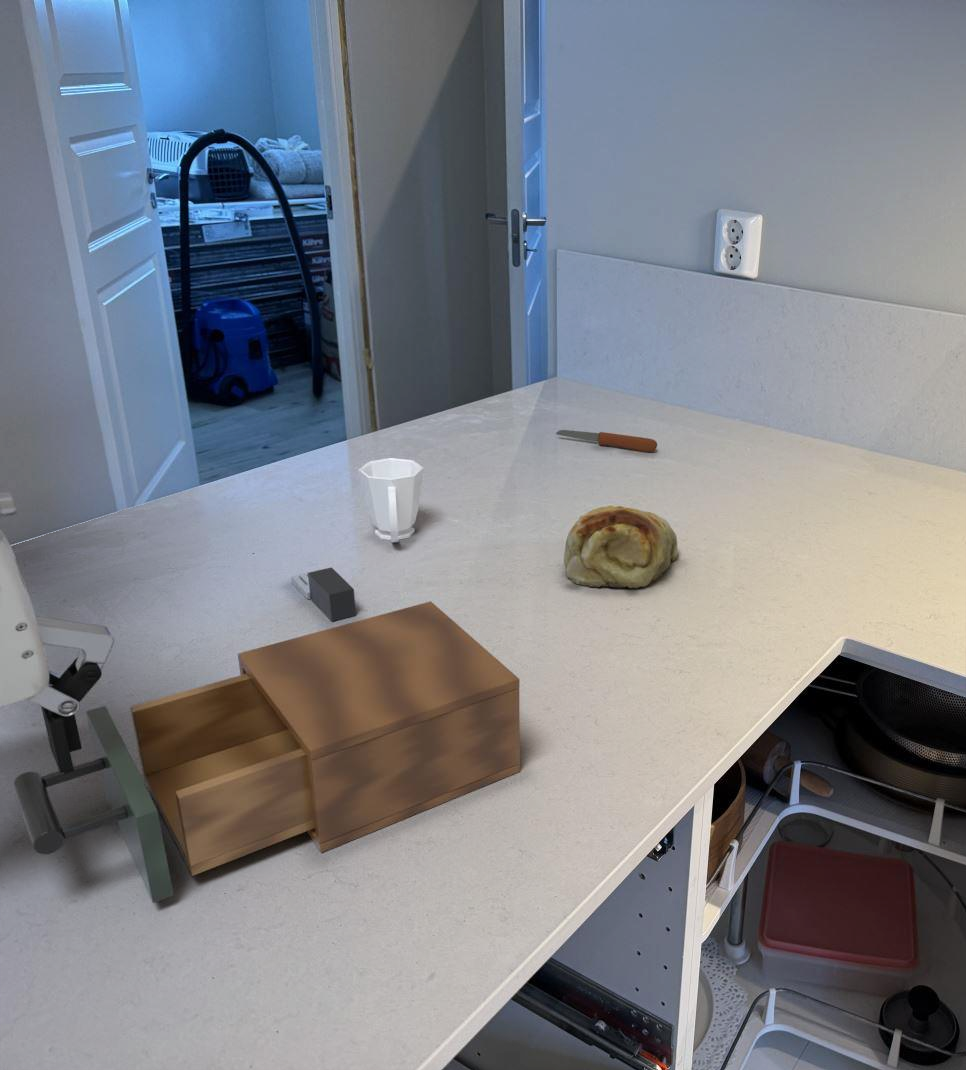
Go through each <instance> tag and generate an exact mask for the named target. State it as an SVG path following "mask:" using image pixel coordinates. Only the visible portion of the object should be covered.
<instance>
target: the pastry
mask: <svg viewBox="0 0 966 1070" xmlns="http://www.w3.org/2000/svg"><path fill="white" fill-rule="evenodd" d="M678 555H679V552H678V537H677V535H676V532H675V531H674V529H673V528H672V527H671V525H670V523H669V522H668V521H667V520H666V519H665V518H664V517H662V516H660V515H658V514H657V513H654V512H652V511H651V512H650V511H646V510H640V509H638V508H632V507H626V506H622V505H620V506H615V505H608V506H601V507H597V508H594V509H592V510H590V511H588V512H586V513H585V514H583V515H580V516H579V518H578V520H576V521H575V522H574V524H573V526H572V527H571V529H570V531H569V532H568V534H567V538H566V541H565V546H564V554H563V565H564V567H565V574H566V578H569V579H570V580H571V583H574V584H576V585H580V586H587V587H590V588H601V587H607V588H609V587H611V588H616V589H617V588H618V589H621V588H625V587H627V588H629V589H638V588H641V587H643V588H645V587H646V586H649V584H651V583H654V582H655V581H656V580H659V578H660V577H661V576H663V574H664V572H665V571H667V570H668V568H669V567H670V564H671V562H675V561H676V559H677V558H678Z"/></svg>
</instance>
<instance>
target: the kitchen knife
mask: <svg viewBox="0 0 966 1070" xmlns="http://www.w3.org/2000/svg"><path fill="white" fill-rule="evenodd" d="M555 435H557V436H563V437H567V438H572V439H577V440H578V439H579V440H584V441H590V442H597V443H598V446H611V447H618V448H622V449H628V450H632V451H633V450H634V451H638V452H643V453H651V452H654V451H656V449H658V442H657V441H656V440H655V439H653V438H649V437H641V436H634V435H627V434H618V433H611V432H604V431H600V432H592V431H591V432H589V431H580V430H571V429H560V430H558V431H557V432H555Z"/></svg>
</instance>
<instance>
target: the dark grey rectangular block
mask: <svg viewBox="0 0 966 1070" xmlns="http://www.w3.org/2000/svg"><path fill="white" fill-rule="evenodd" d="M290 578H291V580H290V581H291V584H292V585H293V586H294V587H295V588H296V589H297V590H298V591H299V592H300V593H301V594H302V595H303V596H304V598H305V599H306V600H311V602H312V603H314V604H315V605H316V607H317V608H318V609H319V610H320V611H321V612H322V613H323V614H324V616H326V617H327V618H328V619H329V620H330V622H332V623H333V622H337V621H341V620H344V619H349V618H352V617H355V616H357V611H356V599H355V589H354V587H353V586H351V585H350V584H349V582H347V581H346V580H345V579H344V578H343V576H341V575H340V574H339V573H338V572H337V571H336V570H335V569H334V568H333V567H327V568H322V569H317V570H314V571H307V572H306V573H300V574H298V575H297V574H295V575H291V577H290Z"/></svg>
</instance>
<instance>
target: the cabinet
mask: <svg viewBox="0 0 966 1070" xmlns="http://www.w3.org/2000/svg"><path fill="white" fill-rule="evenodd" d="M237 659H238V666H239V676H240V675H243V674H248V675H249V677H250V678H251V679H252V681H253V682H254V684H255V685H256V686H257V688H258V689H259V690H260V692H261V693H262V694H263V696H264V697H265V698H266V700H267V701H268V703H269V704H270V705H271V707H272V708H273V709H274V711H275V712H276V713H277V715H278V716H279V717H280V719H281V720H282V721H283V723H284V724H285V726H286V727H287V728H288V730H289V731H290V732H291V734H292V735H293V736H294V738H295V739H296V740H297V742H298V743H299V745H300V746H301V747H302V749H303V750H304V751H305V753H306V754H307V760H308V769H309V778H310V787H311V796H312V806H313V815H314V824H315V828H313V829H311V830H308V831H306V832H307V834H308V836H309V837H310V839H311V840H312V841H313V843H314V845H315V846H316V847H317V849H318V850H319V852H320V853H325V852H327V851H330V850H333V849H334V848H337V847H340V846H342V845H344V844H346V843H349V842H351V841H355V840H357V839H359V838H361V837H363V836H366V835H369V834H371V833H373V832H376V831H378V830H381V829H383V828H385V827H388V826H392V825H393V824H396V823H398V822H400V821H403V820H405V819H408V818H410V817H413V816H415V815H417V814H421V813H422V812H425V811H427V810H430V809H432V808H434V807H437V806H440V805H442V804H445V803H447V802H449V801H452V800H454V799H456V798H459V797H461V796H463V795H466V794H469V793H472V792H474V791H476V790H478V789H481V788H484V787H486V786H488V785H490V784H493V783H495V782H498V781H501V780H503V779H505V778H508V777H511V776H513V775H515V774H518V773H520V770H521V769H520V768H521V765H520V763H521V761H520V759H521V755H520V754H521V753H520V752H521V751H520V750H521V749H520V748H521V747H520V745H521V743H520V742H521V741H520V736H521V735H520V734H521V733H520V732H521V731H520V730H521V729H520V728H521V727H520V726H521V725H520V724H521V723H520V715H521V714H520V713H521V712H520V684H521V683H520V681H521V680H520V677H518V676H517V675H516V674H515V673H513V672H512V671H511V670H510V669H509V668H508V667H506V665H504V664H503V663H502V662H501V661H500V660H499V659H497V657H496V656H494V655H493V654H492V653H491V652H489V651H488V649H486V648H485V647H484V646H483V645H482V644H480V642H478V641H477V640H476V639H475V638H473V636H471V635H470V634H469V633H468V632H467V631H466V630H465V629H463V628H462V627H461V626H460V625H459V624H458V623H457V622H455V621H454V620H453V619H452V618H451V617H449V616H448V615H447V614H446V613H445V612H444V611H443V610H441V609H440V607H438V606H437V605H436V604H435V603H433V601H432V600H429V601H426V602H422V603H420V604H419V603H418V604H414V605H412V606H408V607H404V608H401V609H397V610H393V611H390V612H386V613H383V614H382V613H381V614H379V615H375V616H371V617H367V618H364V619H360V620H357V621H353V622H349V623H346V624H341V625H338V626H335V627H330V628H327V629H324V630H319V631H316V632H312V633H308V634H305V635H301V636H297V637H294V638H290V639H286V640H283V641H279V642H275V643H272V644H268V645H265V646H260V647H258V648H254V649H250V650H246V651H242V652H238V653H237Z"/></svg>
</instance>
